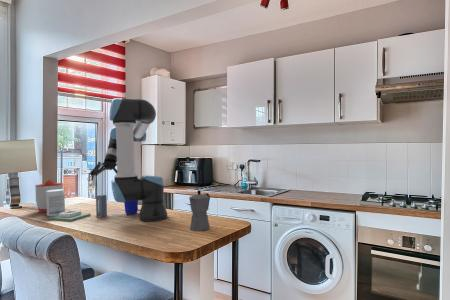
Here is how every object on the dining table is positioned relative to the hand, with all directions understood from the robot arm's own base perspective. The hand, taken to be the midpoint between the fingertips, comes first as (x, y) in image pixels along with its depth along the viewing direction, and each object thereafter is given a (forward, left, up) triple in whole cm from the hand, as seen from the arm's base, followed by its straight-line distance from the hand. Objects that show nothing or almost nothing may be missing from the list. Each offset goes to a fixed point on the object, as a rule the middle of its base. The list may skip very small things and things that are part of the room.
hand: (104, 185), depth 182 cm
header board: (+11, +15, -16) cm, 25 cm away
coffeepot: (-71, +18, -17) cm, 75 cm away
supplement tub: (+26, +11, -17) cm, 33 cm away
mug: (-19, -3, -17) cm, 25 cm away
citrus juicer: (+41, +2, -17) cm, 44 cm away
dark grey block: (-4, +7, -16) cm, 18 cm away
